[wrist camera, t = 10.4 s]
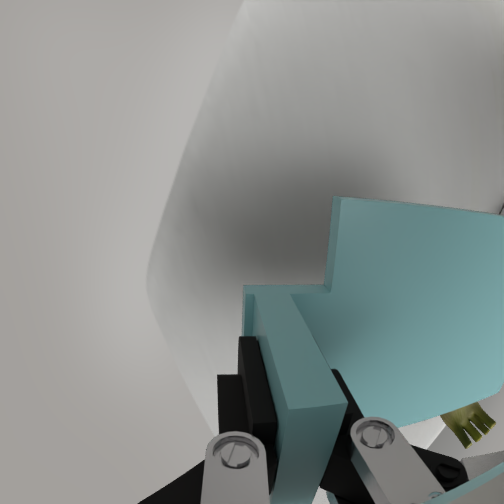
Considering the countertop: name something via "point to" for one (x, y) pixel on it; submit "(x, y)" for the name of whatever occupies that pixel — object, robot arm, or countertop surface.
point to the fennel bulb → (468, 422)
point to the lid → (380, 328)
